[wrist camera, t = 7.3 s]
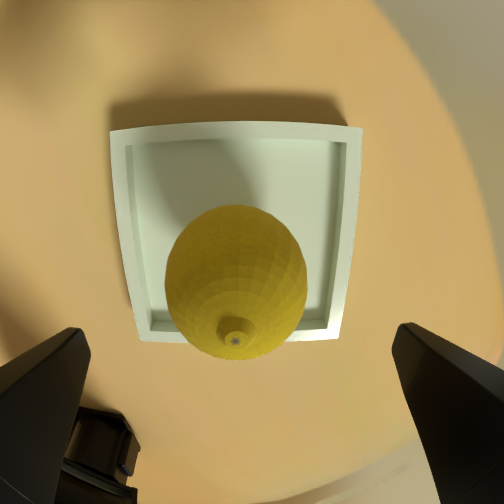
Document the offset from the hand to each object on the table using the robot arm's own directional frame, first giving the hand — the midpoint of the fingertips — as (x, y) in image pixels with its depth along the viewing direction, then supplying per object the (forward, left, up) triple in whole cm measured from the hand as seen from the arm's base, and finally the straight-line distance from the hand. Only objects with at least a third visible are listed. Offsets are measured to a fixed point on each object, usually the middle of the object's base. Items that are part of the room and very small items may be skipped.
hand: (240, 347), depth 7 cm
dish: (0, 0, -9) cm, 9 cm away
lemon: (0, 0, -9) cm, 9 cm away
